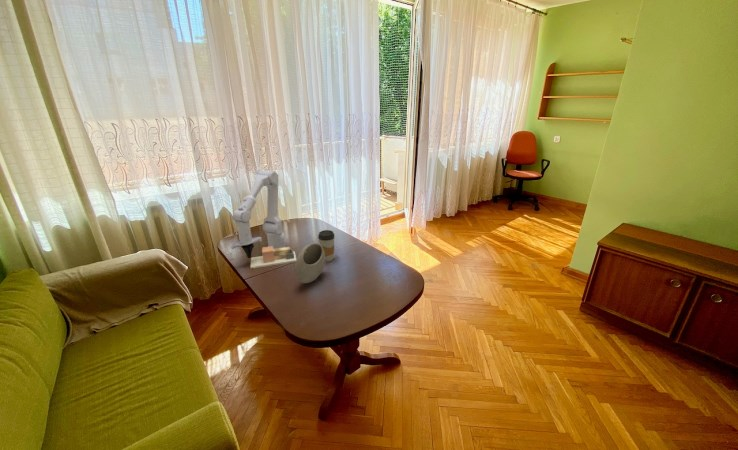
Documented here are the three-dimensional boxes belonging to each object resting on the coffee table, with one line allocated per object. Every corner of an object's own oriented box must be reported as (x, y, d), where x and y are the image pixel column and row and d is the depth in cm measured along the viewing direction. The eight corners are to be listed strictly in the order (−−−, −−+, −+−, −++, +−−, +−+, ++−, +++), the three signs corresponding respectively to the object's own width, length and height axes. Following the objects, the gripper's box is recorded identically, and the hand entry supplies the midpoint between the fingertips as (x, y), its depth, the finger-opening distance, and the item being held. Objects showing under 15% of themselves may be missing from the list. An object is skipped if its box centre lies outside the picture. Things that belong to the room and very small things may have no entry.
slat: (290, 254, 158) (289, 246, 156) (290, 257, 156) (289, 249, 154) (267, 258, 155) (265, 250, 153) (267, 261, 152) (265, 252, 150)
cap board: (294, 252, 162) (294, 246, 161) (296, 261, 154) (295, 255, 152) (251, 259, 156) (250, 252, 155) (250, 268, 147) (249, 262, 146)
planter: (304, 293, 129) (300, 255, 122) (292, 288, 132) (287, 251, 125) (330, 273, 143) (328, 238, 136) (319, 269, 147) (317, 235, 139)
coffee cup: (338, 256, 158) (337, 231, 152) (330, 264, 151) (328, 237, 146) (325, 253, 162) (323, 228, 156) (316, 260, 155) (314, 234, 149)
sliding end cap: (274, 256, 157) (273, 245, 155) (274, 261, 152) (273, 250, 150) (263, 257, 156) (262, 247, 153) (263, 262, 151) (262, 252, 148)
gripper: (256, 226, 152) (260, 250, 157) (226, 234, 144) (232, 258, 149) (261, 231, 147) (265, 255, 152) (230, 239, 138) (235, 264, 144)
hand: (249, 257), depth 150 cm, fingers closed
